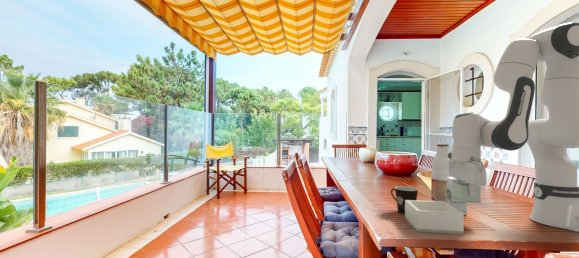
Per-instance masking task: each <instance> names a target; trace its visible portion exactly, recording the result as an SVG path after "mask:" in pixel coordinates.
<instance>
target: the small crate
mask: <svg viewBox="0 0 579 258" xmlns="http://www.w3.org/2000/svg"><path fill="white" fill-rule="evenodd" d="M469 189H470V186H469V183H467V182H466V183H460V182H453V198H454V199H456V200H458V201H460V202H467V204H468V203H469V204H470V203H471V204H472V203H473V204H474V203H475V204H481V201H482V200H481V186H478V188H477V190H476V196H470V195H468V190H469Z"/></svg>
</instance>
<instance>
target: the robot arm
mask: <svg viewBox="0 0 579 258" xmlns="http://www.w3.org/2000/svg"><path fill="white" fill-rule="evenodd" d="M540 62H541V63H542V62H544V63H545V66H546V70H545V73H544V77H543V82H542V83H543V84H542V89H541V96H540V102H541V103H542V104H543V105H544V106H545V107H546V108H547V111H548V118H537V119H534V120H530V118H531V117H530V115H531V113H532V112H531V111H532V106H533V102H534V97H535V91H536V83H535V82H534V80H533V76H534V74H535V72H536V68H537V64H538V63H540ZM493 82H494V86H496V87H497V89H499V90H501V91H503V92H505V93H508V94H509V101H508V104H507V110H506V115H505V117H504V118H503V119H501V120H497V121H494V120H493V121H492V120H489V119H487V118H485V117H483V116H482V115H480V114H479V113H478V112H476V111H473V112H472V111H471V112H464V113H460V114H457V115H456V116H455V117H454V118H453V121H452V130H451V131H452V139H453V144H452V146H451V147H452V148H451V149H452V150H451V151H449V153H448V159H449V173H450V176H451V177H454V178H456V182H460V183H463V182H464V181H465V182H466V183H469V186H470V189H469V190H468V195H470V196H476V190H477V188H478V186H480V187H485V186H486V185H487V182H488V181H487V170H486V166H485V164H484V162H483V161H482V154H481V153H482V150H481V149H482V147H485V148H492V149H493V148H494V149H501V150H505V151H512V152H513V151H517V150H519V149H521V148H522V147H524V145H525V144H527V145H528V147H529V148H530V149H529V150H530V151H531V154H532V157H533V160H534V167H535V168H534V169H535V171H534V173H535V177H534V178H535V181H534V182H533V194H534V195H533V196H534V200H533V207H532V210H531V213H530V216H529V219H530V220H531V221H534V222H536V223H539V224H542V225H546V226H549V227H554V228H560V229H564V230H569V231H571V232H572V231H573V232H577V233H578V232H579V185H578V165H577V164H576V163H575V161H573V160H572V159H571V158H570V156H569V155H568V153H567V151H566V149H578V148H579V22H567V23H562V24H561V23H560V24H559V25H557V26H554V27H549V28H547V29H544V30H541V31H540V32H537V33H535V34H533V35H531V36H528V37H525V38H519V39H515V40H513V41H511V42H510V43H509V44H508V45H507V47H506V48H505V50H504V52H503V53H502V55H501V57H500V59H499V62H498V64H497V66H496V69H495V71H494V74H493ZM529 120H530V121H529Z"/></svg>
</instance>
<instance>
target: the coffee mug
mask: <svg viewBox="0 0 579 258" xmlns="http://www.w3.org/2000/svg"><path fill="white" fill-rule="evenodd" d="M393 191H395V195H394V194H393ZM418 192H419V191H418V188H416V187H412V186H402V185H399V186H395V187H393V188H391V190H390V194H391V196H392V198H393V199H394V201H395V202H396V208H397V213H398V214H401V215H404V216H405V200H418Z"/></svg>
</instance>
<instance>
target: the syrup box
mask: <svg viewBox="0 0 579 258" xmlns="http://www.w3.org/2000/svg"><path fill="white" fill-rule="evenodd" d="M453 182H456V178H454V177H447V203H448V204H450V205H451V206H453V207H455V208H456V209H458V210H459V211H461V212H463V213H464V216H467V215H468V203H467V202H460V201H458V200H456V199H454V198H453ZM463 183H467V182H465V181H464V182H463Z"/></svg>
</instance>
